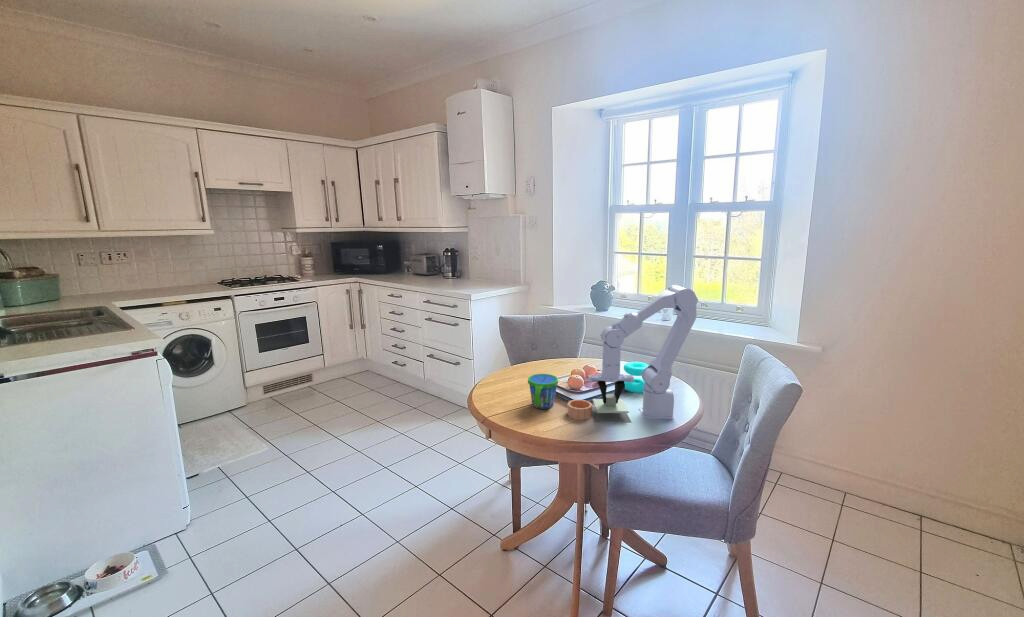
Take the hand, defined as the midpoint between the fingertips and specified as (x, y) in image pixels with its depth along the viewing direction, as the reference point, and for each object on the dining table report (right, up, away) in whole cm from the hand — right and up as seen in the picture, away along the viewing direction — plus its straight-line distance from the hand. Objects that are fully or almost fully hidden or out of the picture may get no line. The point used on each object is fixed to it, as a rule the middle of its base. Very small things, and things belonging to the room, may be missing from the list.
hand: (610, 402), depth 145 cm
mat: (0, -5, +1) cm, 5 cm away
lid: (0, -2, 0) cm, 2 cm away
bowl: (-10, -5, +1) cm, 11 cm away
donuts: (+16, 0, +24) cm, 29 cm away
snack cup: (-22, -3, +9) cm, 24 cm away
